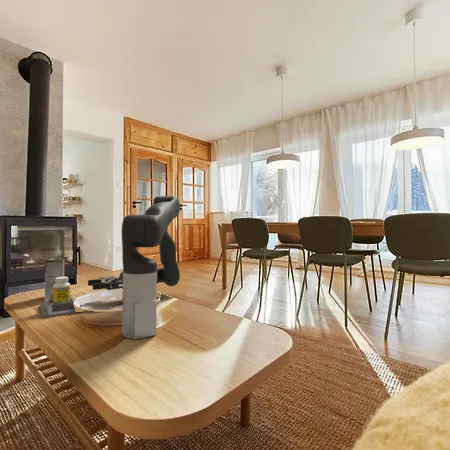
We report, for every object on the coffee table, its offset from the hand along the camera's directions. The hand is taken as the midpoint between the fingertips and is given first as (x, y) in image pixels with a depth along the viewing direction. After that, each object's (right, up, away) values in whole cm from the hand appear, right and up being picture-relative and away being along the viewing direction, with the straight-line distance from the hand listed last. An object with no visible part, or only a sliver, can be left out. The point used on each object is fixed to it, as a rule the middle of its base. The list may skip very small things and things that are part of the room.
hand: (90, 284), depth 106 cm
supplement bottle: (-8, -6, -6) cm, 11 cm away
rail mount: (-8, -7, -6) cm, 12 cm away
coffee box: (-20, -8, +10) cm, 23 cm away
